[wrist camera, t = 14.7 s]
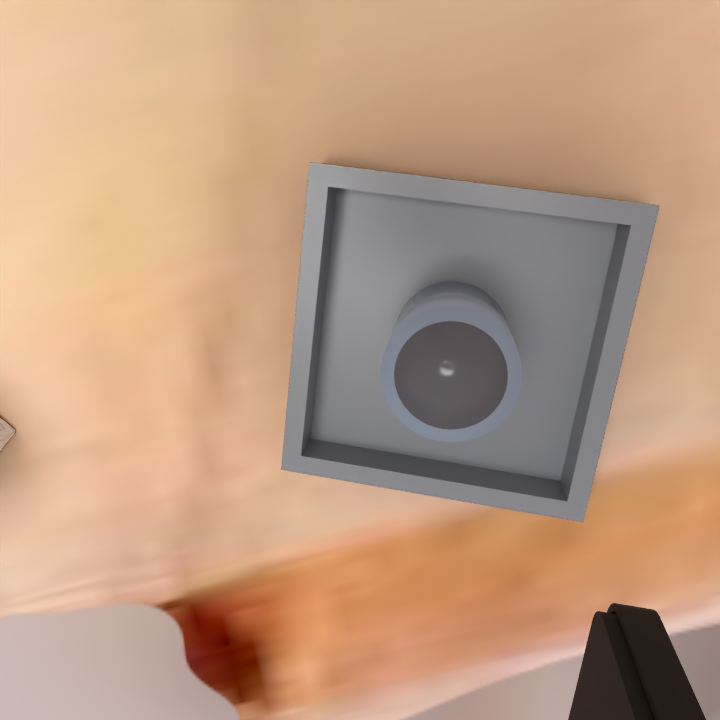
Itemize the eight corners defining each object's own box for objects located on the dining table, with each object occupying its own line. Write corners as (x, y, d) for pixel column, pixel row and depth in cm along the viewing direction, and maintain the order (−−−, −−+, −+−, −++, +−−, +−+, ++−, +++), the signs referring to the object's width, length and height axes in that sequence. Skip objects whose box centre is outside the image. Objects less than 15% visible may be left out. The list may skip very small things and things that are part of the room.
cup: (402, 274, 34) (389, 297, 28) (518, 289, 34) (534, 317, 27) (387, 383, 36) (372, 430, 29) (498, 400, 35) (509, 452, 29)
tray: (322, 163, 34) (309, 162, 31) (641, 202, 32) (659, 205, 29) (294, 447, 39) (281, 469, 36) (573, 495, 37) (583, 522, 34)
